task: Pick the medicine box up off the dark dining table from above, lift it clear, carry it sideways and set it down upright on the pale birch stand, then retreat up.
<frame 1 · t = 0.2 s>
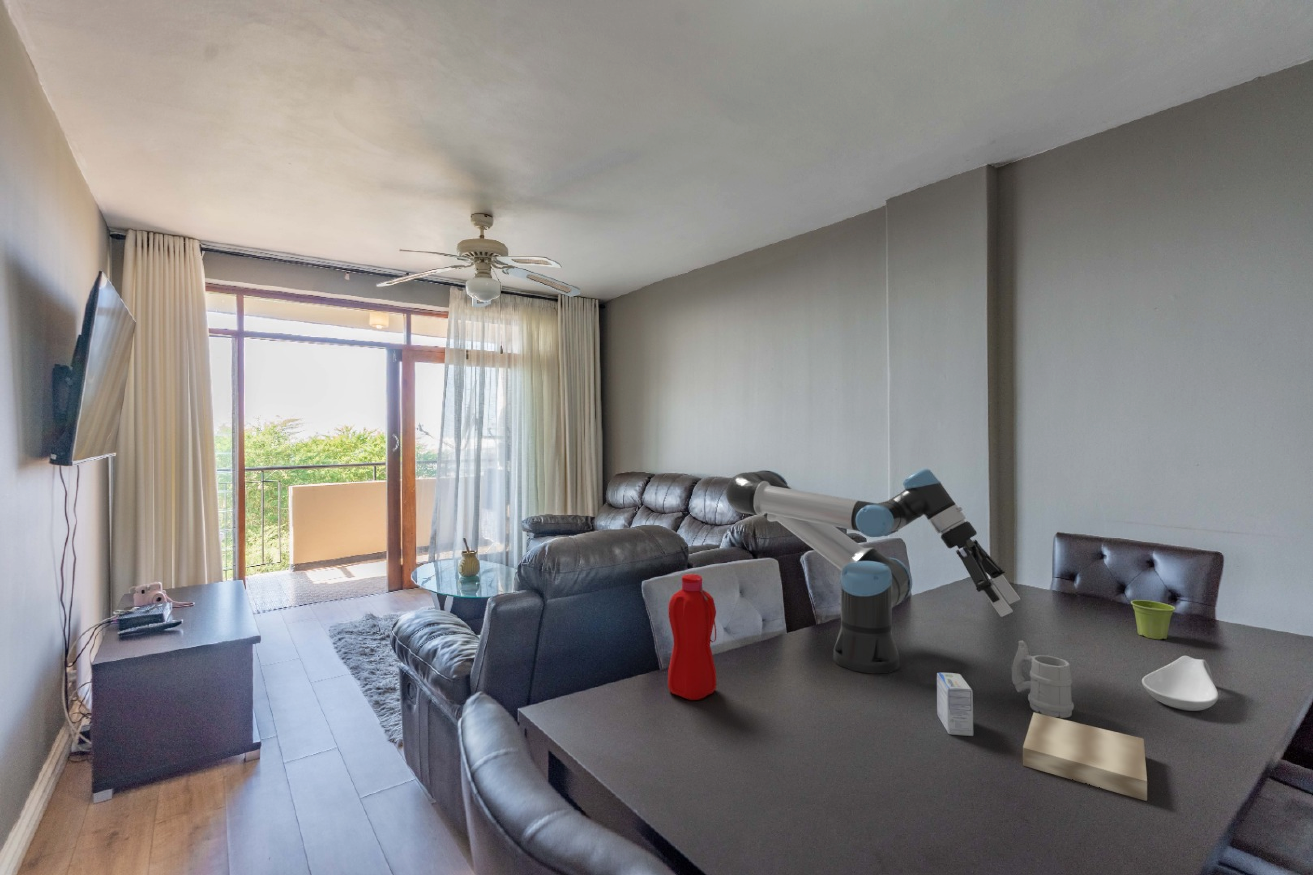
hand: (1011, 607, 138), 15 cm above the table, tool tilted 35°, fingers open, 13 cm apart
mug: (1040, 706, 122), on the table
medicine box: (954, 727, 113), on the table
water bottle: (695, 693, 128), on the table
birch stand: (1084, 760, 101), on the table
plant pot: (1152, 636, 164), on the table
spoon rest: (1185, 698, 126), on the table
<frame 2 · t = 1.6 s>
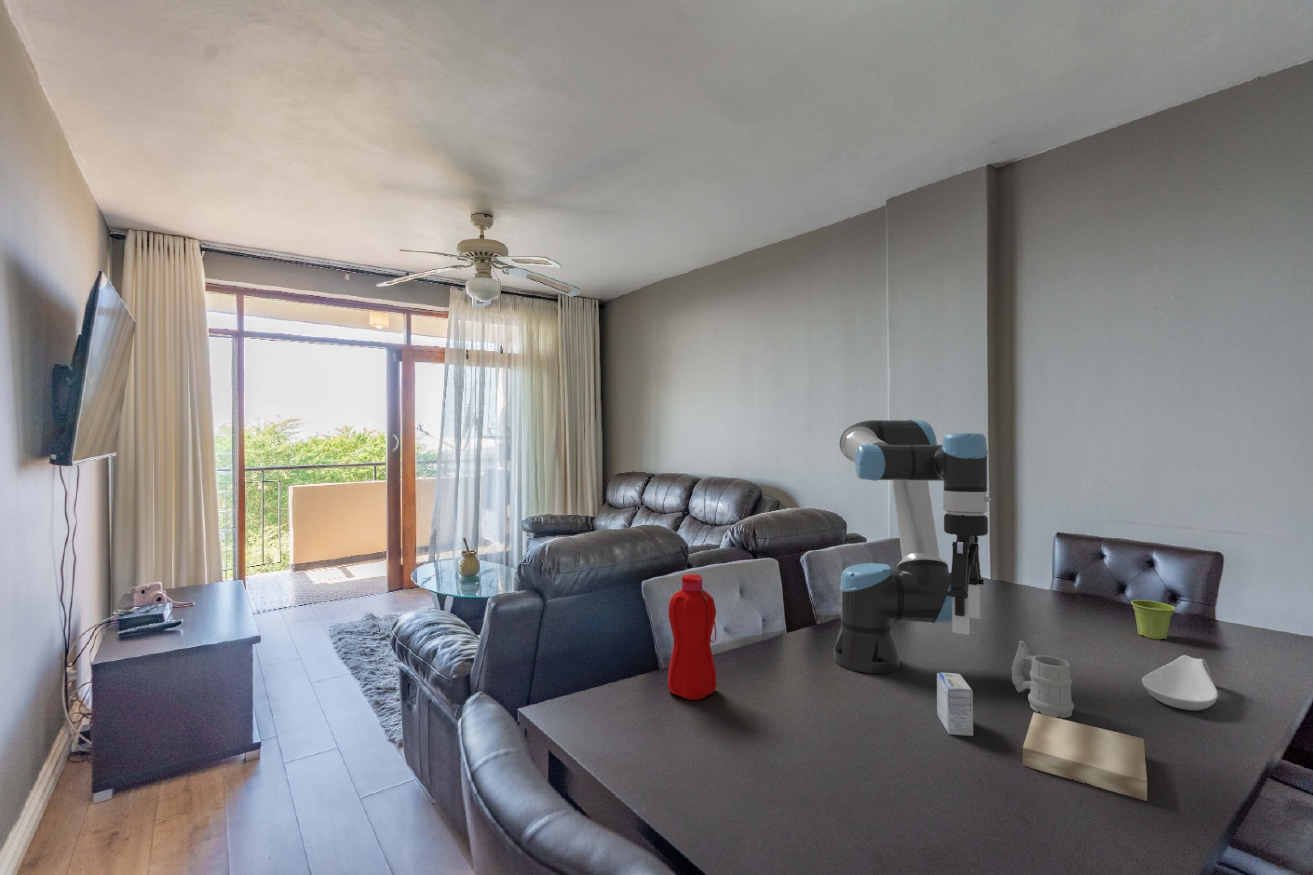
hand: (966, 625, 114), 19 cm above the table, tool pointing down, fingers open, 13 cm apart
nothing on the table moved.
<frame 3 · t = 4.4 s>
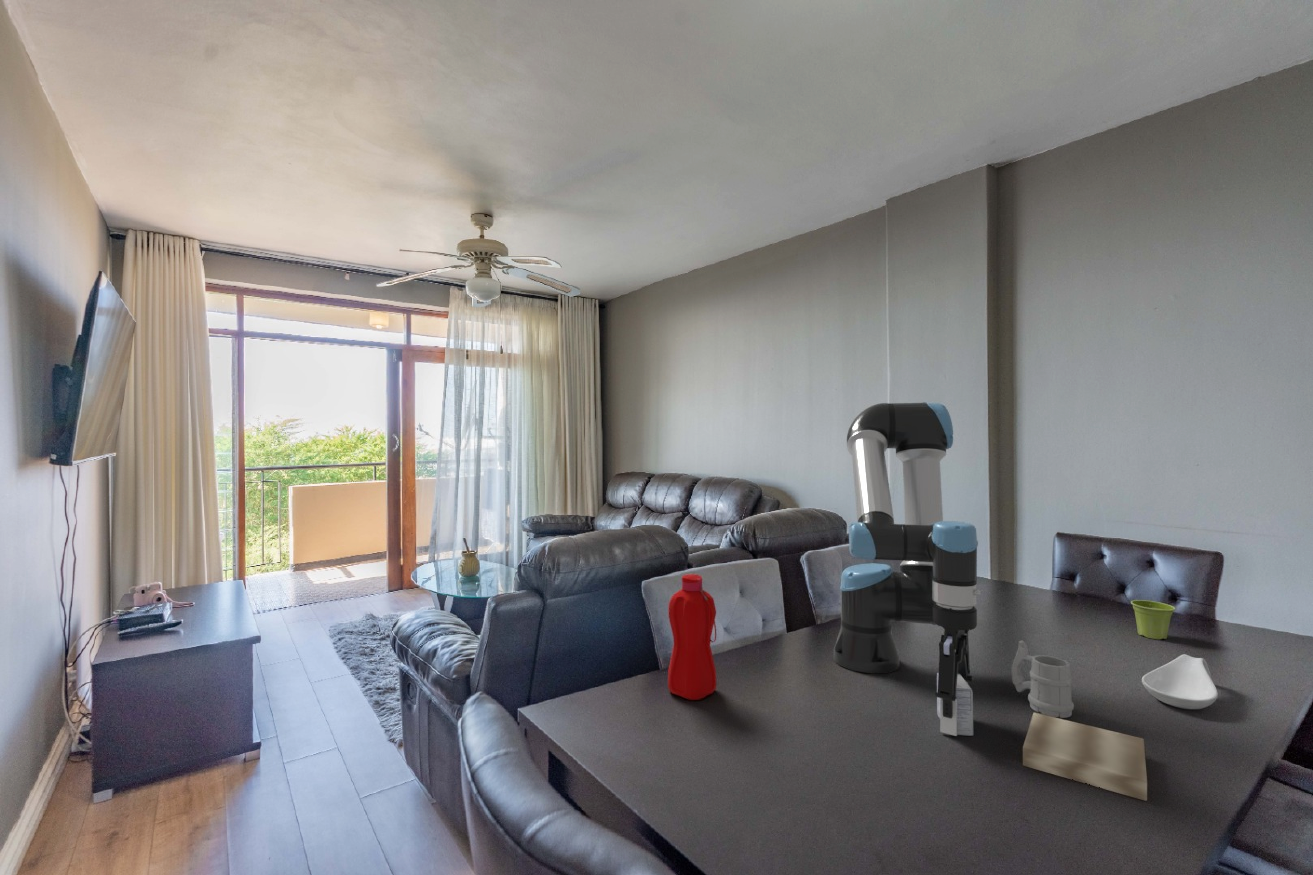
hand: (954, 723, 113), 0 cm above the table, tool pointing down, fingers closed on medicine box, 9 cm apart
medicine box: (954, 726, 113), on the table, touching gripper
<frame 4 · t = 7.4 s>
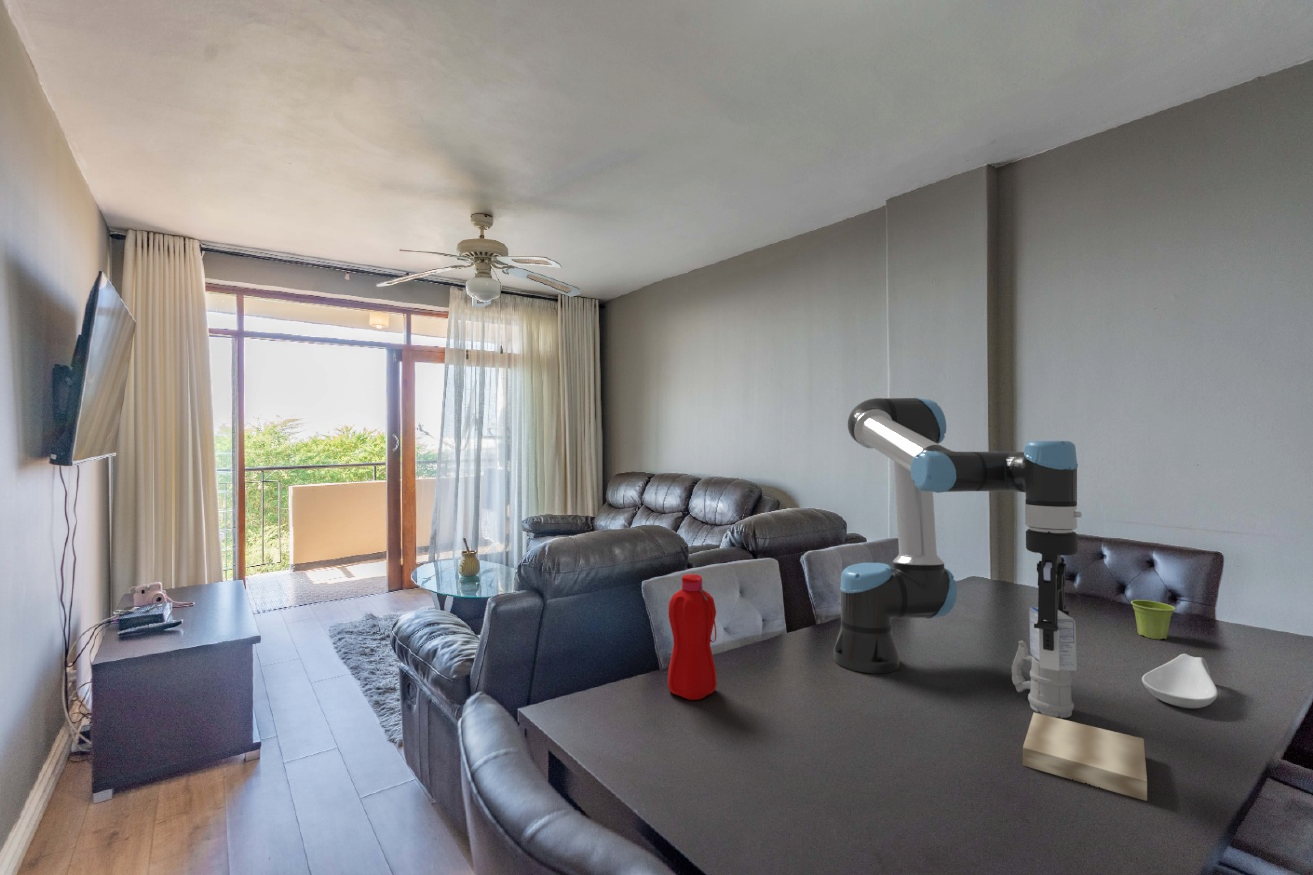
hand: (1052, 660, 103), 16 cm above the table, tool pointing down, fingers closed on medicine box, 9 cm apart
medicine box: (1052, 664, 103), point 15 cm above the table, touching gripper
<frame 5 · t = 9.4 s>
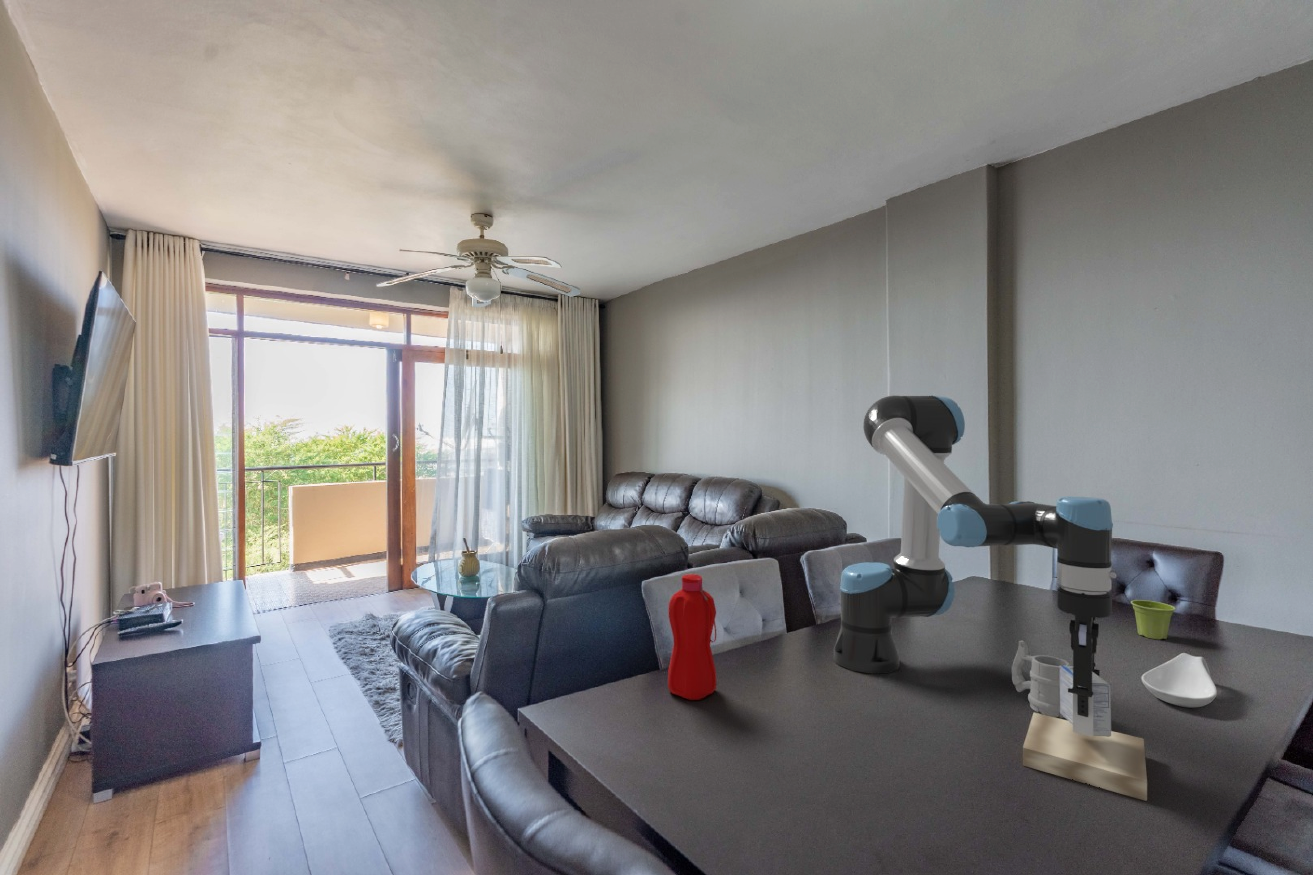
hand: (1084, 722, 101), 6 cm above the table, tool pointing down, fingers closed on medicine box, 9 cm apart
medicine box: (1084, 726, 101), point 6 cm above the table, touching gripper
when the fingers open (5 cm above the table, at t = 10.6 s): medicine box drops 1 cm, resting on birch stand.
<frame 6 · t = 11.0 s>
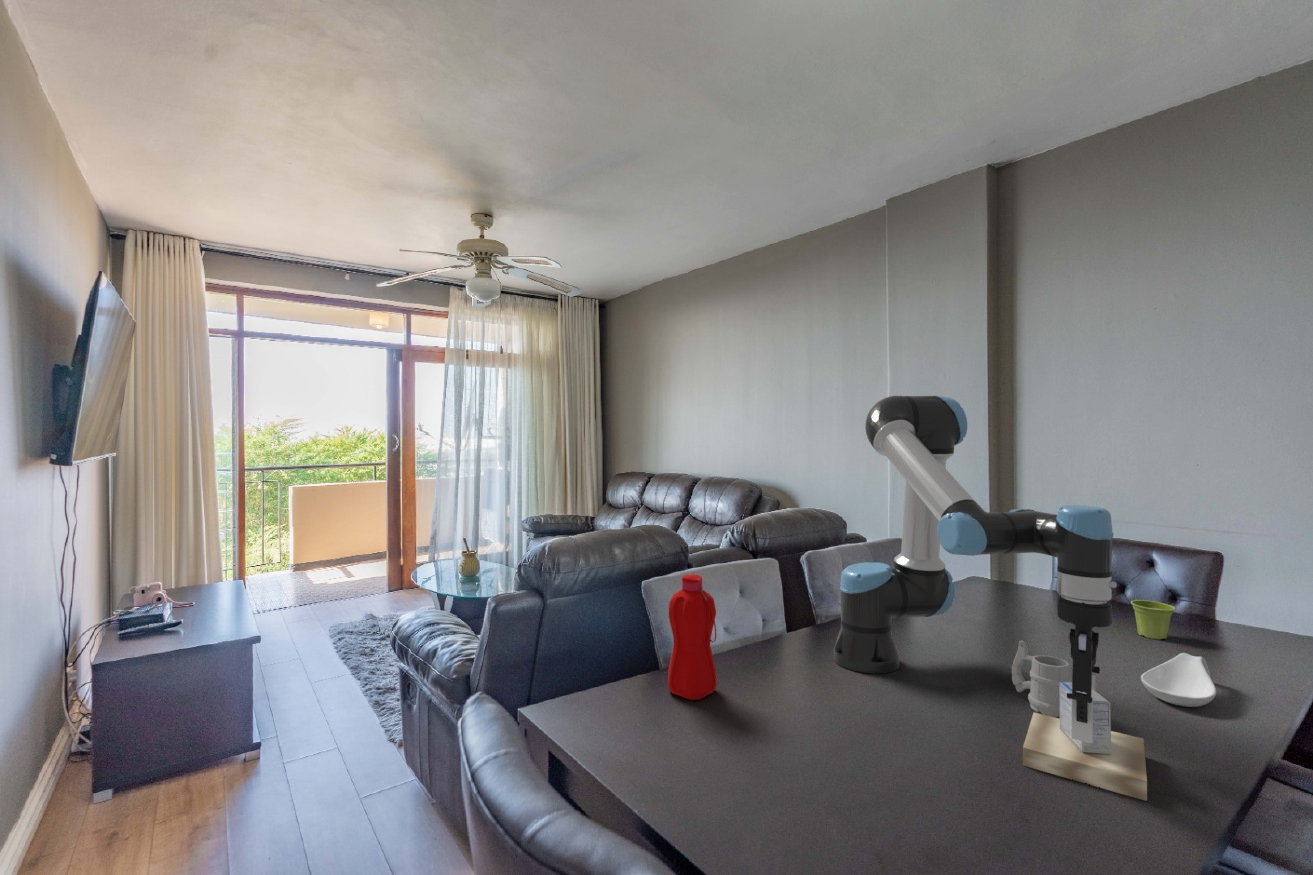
hand: (1084, 724, 101), 6 cm above the table, tool pointing down, fingers open, 13 cm apart
medicine box: (1084, 743, 101), point 3 cm above the table, touching birch stand
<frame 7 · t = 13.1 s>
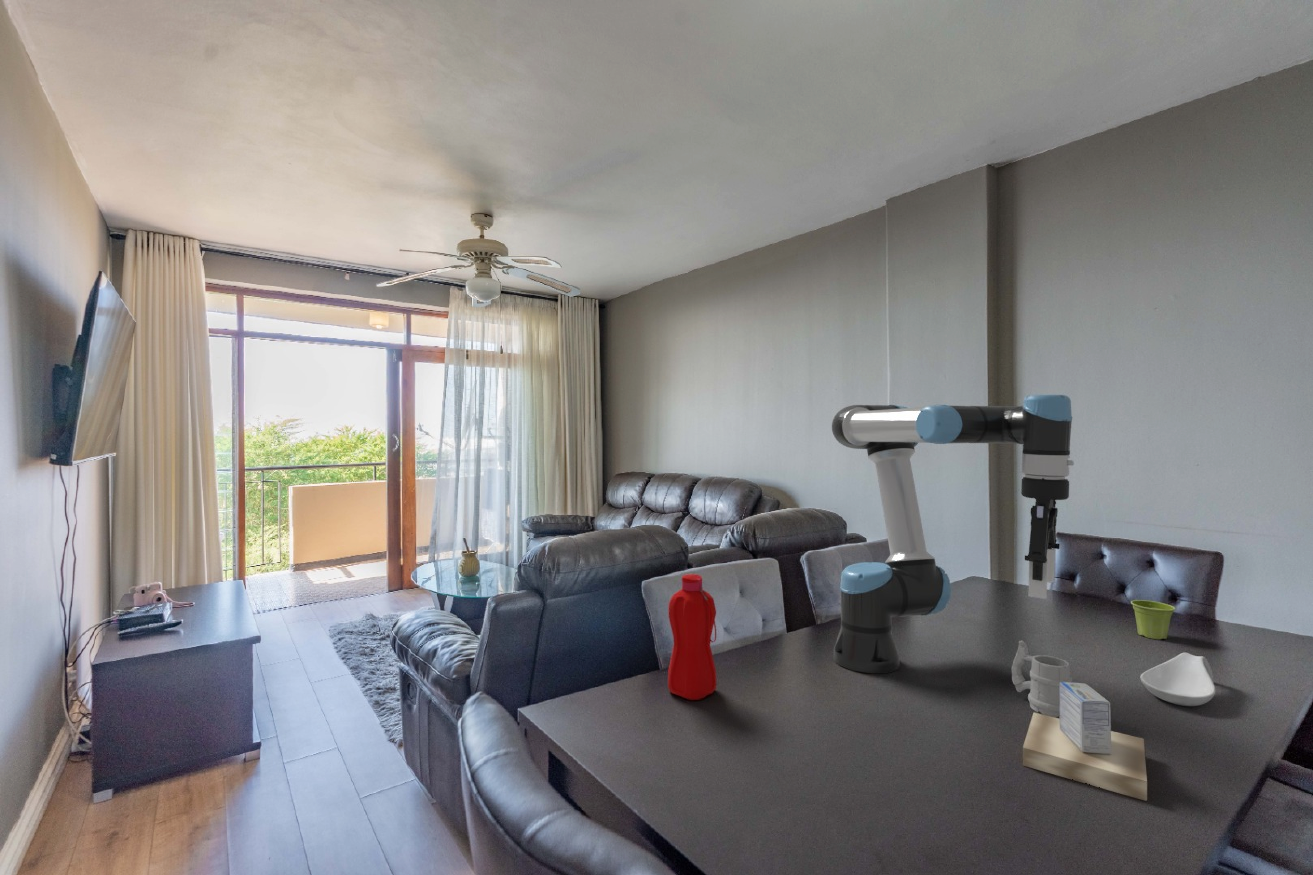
hand: (1041, 589, 113), 26 cm above the table, tool pointing down, fingers open, 13 cm apart
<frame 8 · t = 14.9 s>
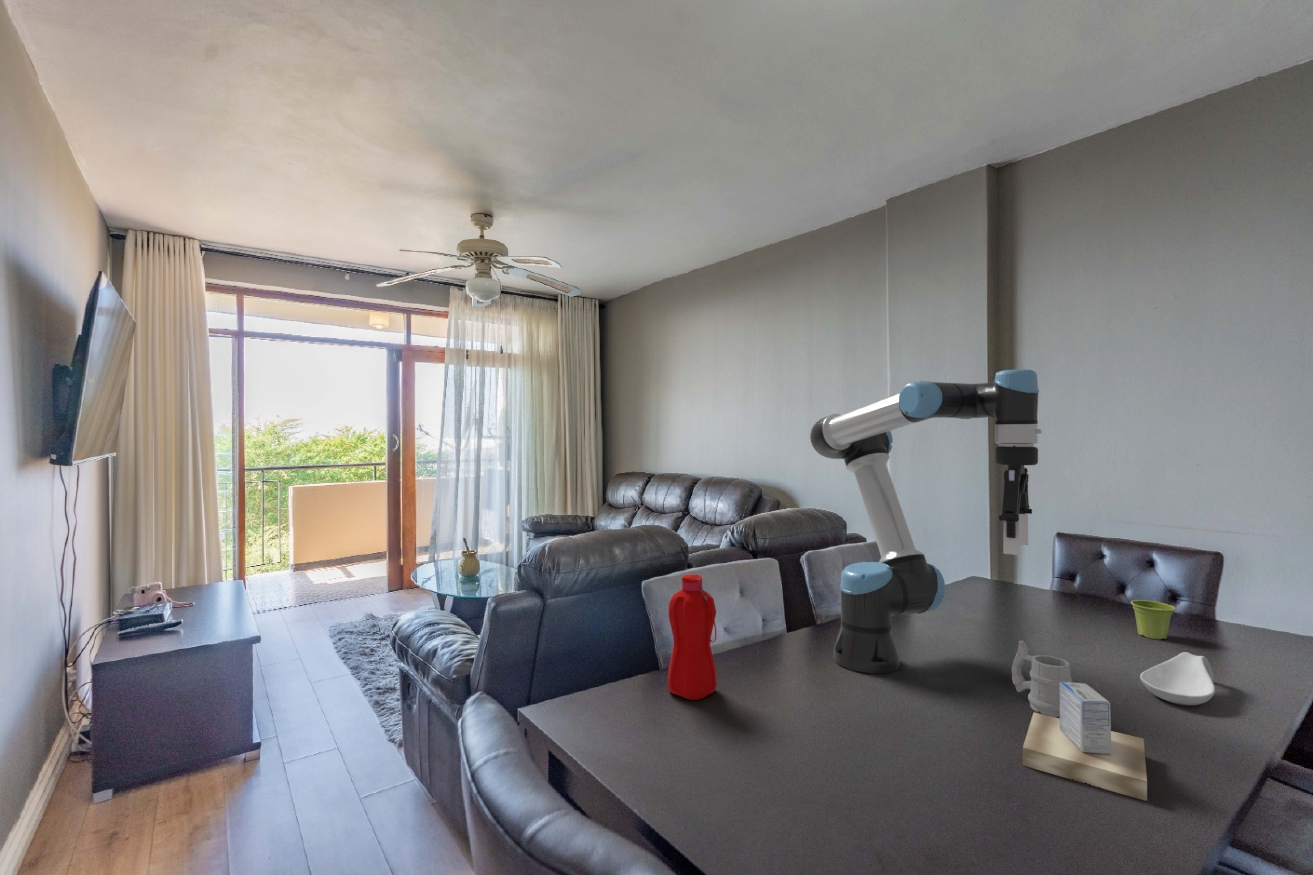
hand: (1016, 549, 122), 32 cm above the table, tool pointing down, fingers open, 13 cm apart
at the end: medicine box inside the target area on the birch stand (0.3 cm from its centre), point 2.8 cm above the birch stand's base; medicine box tilted 0°; the gripper is holding nothing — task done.
